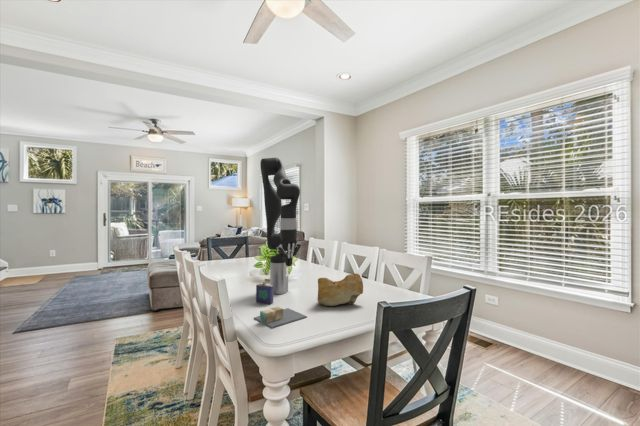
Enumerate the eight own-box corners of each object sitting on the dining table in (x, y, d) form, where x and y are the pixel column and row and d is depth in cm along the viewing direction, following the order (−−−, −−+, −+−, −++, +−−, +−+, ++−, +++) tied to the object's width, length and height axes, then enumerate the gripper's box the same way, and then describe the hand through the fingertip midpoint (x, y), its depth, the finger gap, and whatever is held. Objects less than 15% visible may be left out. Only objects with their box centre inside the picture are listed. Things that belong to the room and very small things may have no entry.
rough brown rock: (357, 297, 166) (355, 270, 167) (366, 305, 150) (364, 274, 150) (314, 301, 163) (313, 272, 164) (318, 309, 146) (317, 277, 147)
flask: (274, 302, 155) (273, 281, 155) (271, 304, 152) (271, 283, 152) (257, 301, 158) (257, 280, 157) (254, 302, 155) (254, 281, 155)
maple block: (277, 306, 135) (260, 311, 129) (283, 308, 132) (265, 313, 126) (277, 315, 135) (260, 320, 130) (283, 317, 132) (265, 323, 127)
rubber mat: (287, 309, 145) (287, 308, 145) (306, 317, 135) (306, 316, 135) (254, 318, 133) (254, 317, 133) (271, 328, 123) (271, 326, 123)
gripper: (294, 226, 146) (295, 262, 147) (271, 228, 137) (272, 266, 138) (305, 227, 141) (305, 265, 142) (281, 229, 132) (281, 269, 133)
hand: (288, 265), depth 140 cm, fingers closed
